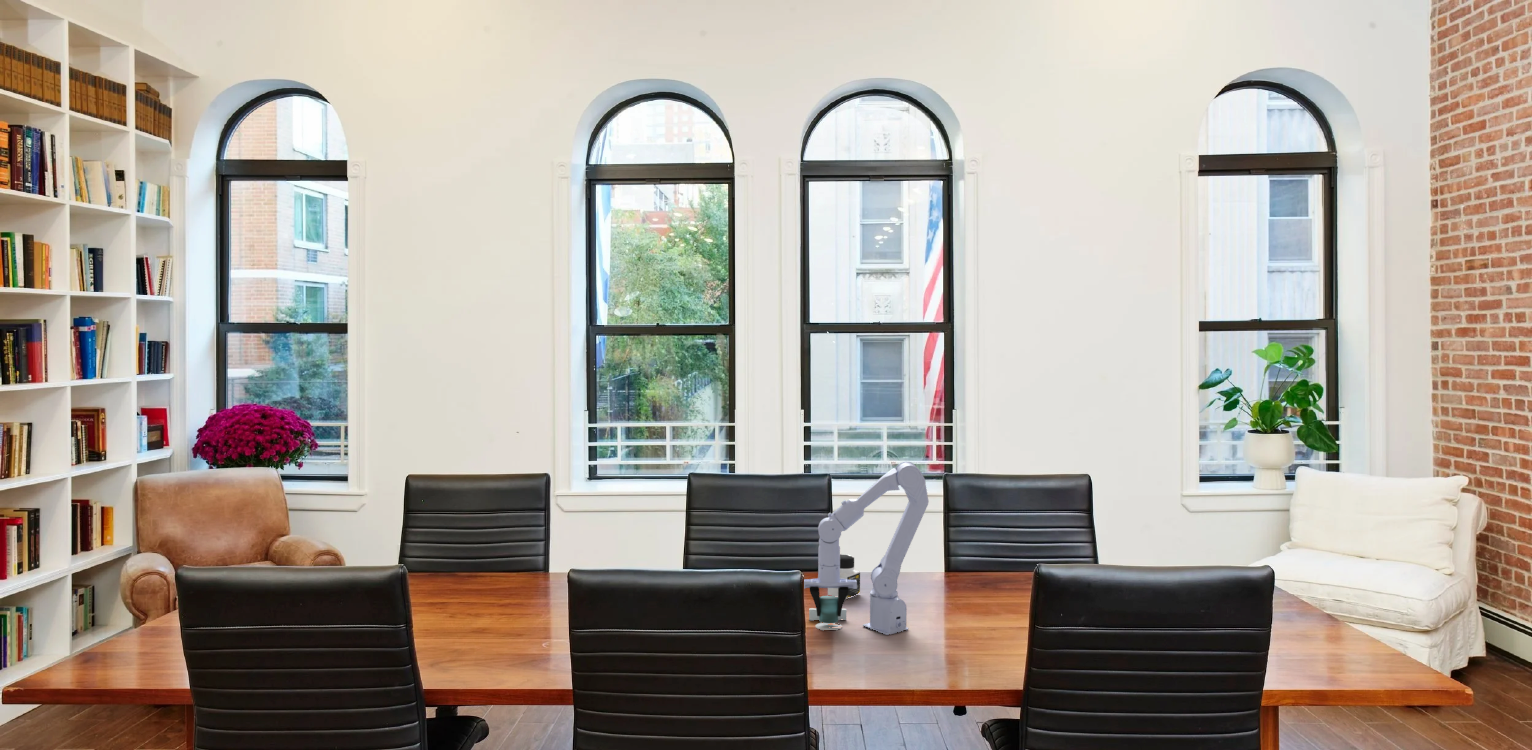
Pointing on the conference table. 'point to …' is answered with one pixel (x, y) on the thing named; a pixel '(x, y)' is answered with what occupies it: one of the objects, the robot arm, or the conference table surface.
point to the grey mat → (827, 626)
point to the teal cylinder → (828, 609)
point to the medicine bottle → (847, 575)
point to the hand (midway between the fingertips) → (828, 615)
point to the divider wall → (814, 616)
